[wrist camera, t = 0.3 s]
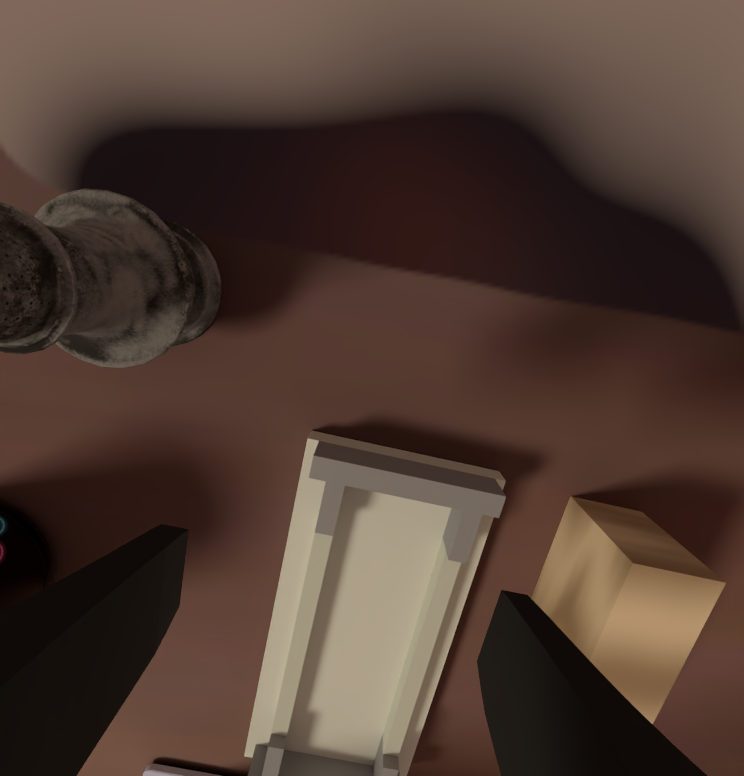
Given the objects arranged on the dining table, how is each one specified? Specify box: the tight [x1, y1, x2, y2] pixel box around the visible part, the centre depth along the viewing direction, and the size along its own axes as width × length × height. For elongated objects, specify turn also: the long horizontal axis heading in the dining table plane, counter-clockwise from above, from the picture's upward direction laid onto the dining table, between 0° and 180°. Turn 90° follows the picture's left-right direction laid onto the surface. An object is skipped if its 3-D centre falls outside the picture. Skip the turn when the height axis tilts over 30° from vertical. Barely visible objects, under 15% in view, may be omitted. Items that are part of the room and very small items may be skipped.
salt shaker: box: [0, 189, 222, 368], centre depth 11 cm, size 6×6×12 cm
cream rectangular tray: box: [244, 430, 506, 776], centre depth 20 cm, size 19×9×3 cm, turn 167°
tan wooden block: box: [531, 496, 726, 724], centre depth 18 cm, size 11×4×5 cm, turn 167°
